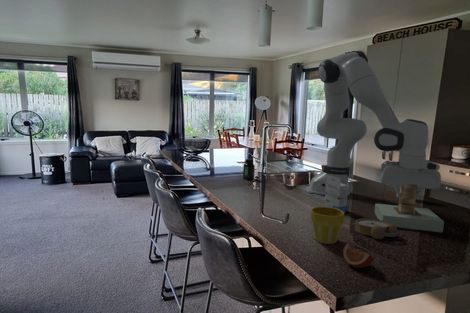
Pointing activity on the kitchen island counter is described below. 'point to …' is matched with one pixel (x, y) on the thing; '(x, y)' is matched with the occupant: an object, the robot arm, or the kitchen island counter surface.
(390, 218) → the board
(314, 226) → the plant pot
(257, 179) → the kitchen island counter surface
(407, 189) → the leg
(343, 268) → the kitchen island counter surface
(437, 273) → the kitchen island counter surface
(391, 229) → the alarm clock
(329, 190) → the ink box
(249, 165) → the supplement bottle
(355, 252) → the fruit slice
